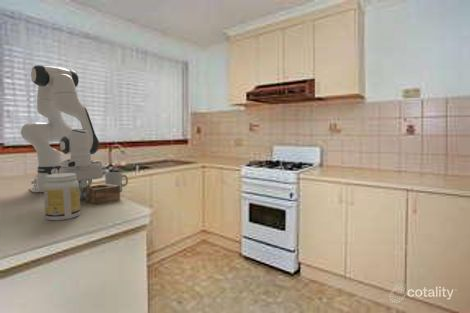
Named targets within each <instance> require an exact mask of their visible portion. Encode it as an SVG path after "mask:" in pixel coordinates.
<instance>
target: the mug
mask: <svg viewBox="0 0 470 313" xmlns="http://www.w3.org/2000/svg"><path fill="white" fill-rule="evenodd" d="M104 176H105V178H104V179H105V181H104V182H105V184H113V185H118V186H120V193H122V192H123V187H126V186H128V183H129V179H128V176H127V175H126V174H122V172H121V171H108V172H105V173H104ZM122 178H125V183H123V182H122V181H123V179H122Z"/></svg>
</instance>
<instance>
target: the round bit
mask: <svg viewBox="0 0 470 313" xmlns="http://www.w3.org/2000/svg"><path fill="white" fill-rule="evenodd" d="M78 182H79V193H80V202H81V201H82V200H83V201H86V194H85V187H87V184H88V181H87V180H86V179H85V178H82V180H81V181H78Z"/></svg>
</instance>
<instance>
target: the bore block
mask: <svg viewBox="0 0 470 313" xmlns="http://www.w3.org/2000/svg"><path fill="white" fill-rule="evenodd" d="M85 194H86V200H85V202H86V203H90V204H92V205H93V204H94V205H99V204H100V203H101V204H105V202H106V203H110V202H109V201H111V202H114V201H113V200H116V201H118V200H117V199H120V200H121V192H120V186H118V185H113V184H106V183H104V184H98V185H90V187H85Z"/></svg>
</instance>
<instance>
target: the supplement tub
mask: <svg viewBox="0 0 470 313" xmlns="http://www.w3.org/2000/svg"><path fill="white" fill-rule="evenodd" d="M76 178H77V177H76V174H75V173H59V174H51V175H47V176H46V179H45V180H46V181H47V182H46V183H45V184H44V192H43V200H44V214H45V215H44V216H45V218H46V220H48V221H65V220H71V219H74V218H76V217H79V215H80V214H81V201H80V193H79V182H78V181H77V180H75V179H76Z"/></svg>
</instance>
